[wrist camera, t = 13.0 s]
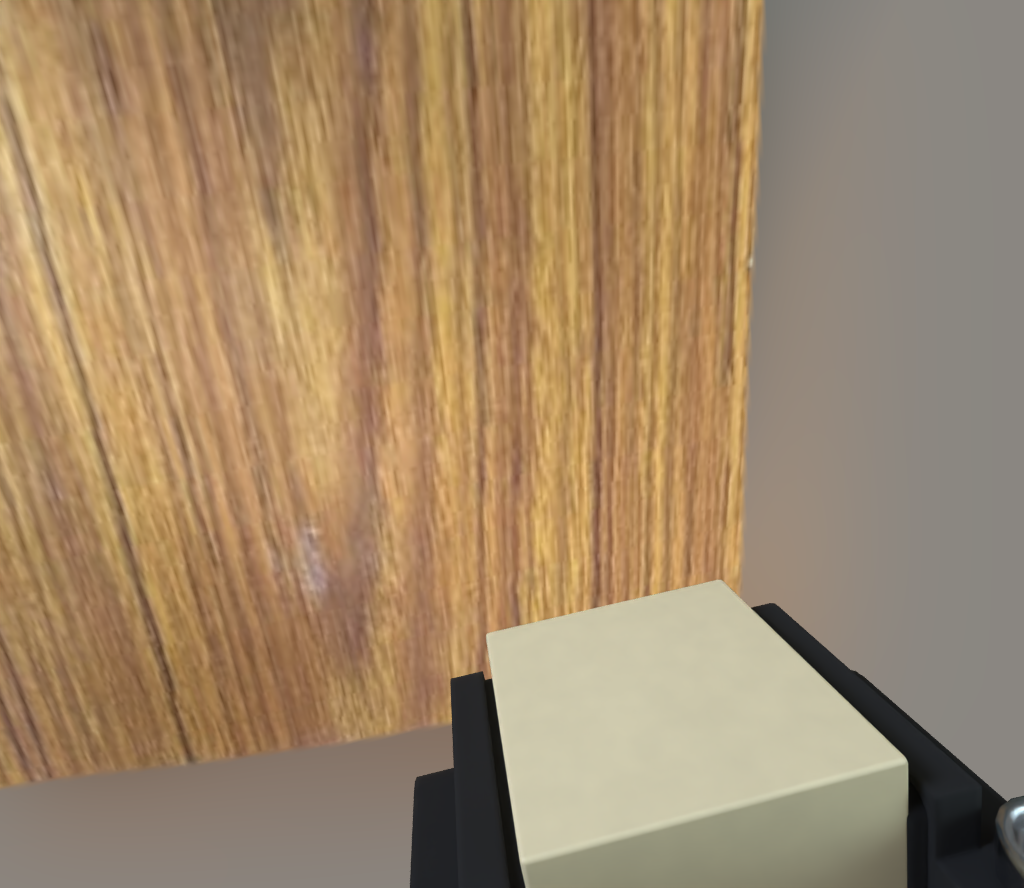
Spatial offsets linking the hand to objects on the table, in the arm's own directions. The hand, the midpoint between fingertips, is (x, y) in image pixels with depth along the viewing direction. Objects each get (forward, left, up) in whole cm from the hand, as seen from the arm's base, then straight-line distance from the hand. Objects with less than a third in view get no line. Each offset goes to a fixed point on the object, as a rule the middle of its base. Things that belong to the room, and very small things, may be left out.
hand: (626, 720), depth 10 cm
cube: (0, 0, 0) cm, 0 cm away
